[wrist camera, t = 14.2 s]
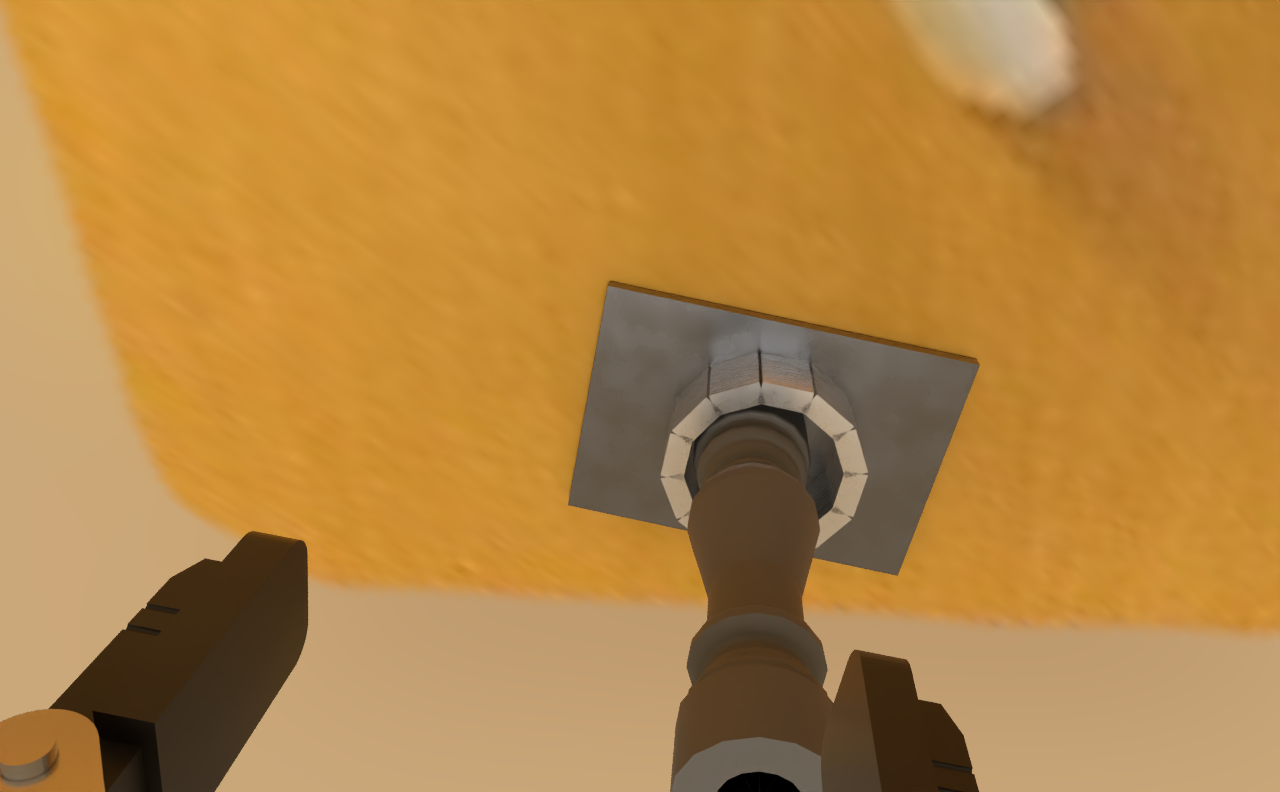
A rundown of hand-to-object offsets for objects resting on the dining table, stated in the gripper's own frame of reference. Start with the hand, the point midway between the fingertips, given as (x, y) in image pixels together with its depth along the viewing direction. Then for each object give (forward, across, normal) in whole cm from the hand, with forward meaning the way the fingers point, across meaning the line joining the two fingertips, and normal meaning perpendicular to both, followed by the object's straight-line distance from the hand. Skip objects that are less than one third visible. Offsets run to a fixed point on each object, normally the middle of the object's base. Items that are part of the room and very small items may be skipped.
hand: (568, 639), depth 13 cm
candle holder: (+36, -6, +14) cm, 39 cm away
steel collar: (+36, -6, +15) cm, 40 cm away
